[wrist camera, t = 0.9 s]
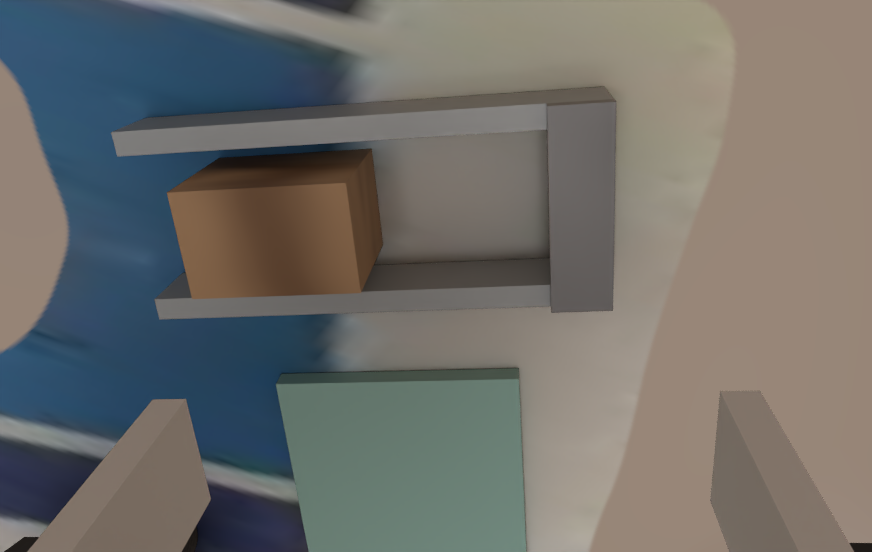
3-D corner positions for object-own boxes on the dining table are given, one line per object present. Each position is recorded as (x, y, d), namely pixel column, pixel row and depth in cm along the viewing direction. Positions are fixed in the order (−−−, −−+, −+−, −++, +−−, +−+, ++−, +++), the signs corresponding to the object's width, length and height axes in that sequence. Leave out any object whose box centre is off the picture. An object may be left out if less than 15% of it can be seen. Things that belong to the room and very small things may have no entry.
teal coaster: (316, 554, 41) (311, 567, 40) (281, 373, 37) (275, 384, 36) (526, 556, 40) (527, 569, 39) (518, 368, 35) (518, 379, 34)
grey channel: (186, 291, 35) (153, 325, 32) (145, 118, 32) (103, 135, 29) (602, 276, 33) (613, 310, 30) (604, 86, 30) (616, 101, 26)
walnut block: (238, 250, 34) (191, 299, 29) (219, 157, 32) (167, 192, 27) (383, 243, 33) (360, 293, 28) (371, 148, 32) (345, 182, 27)
